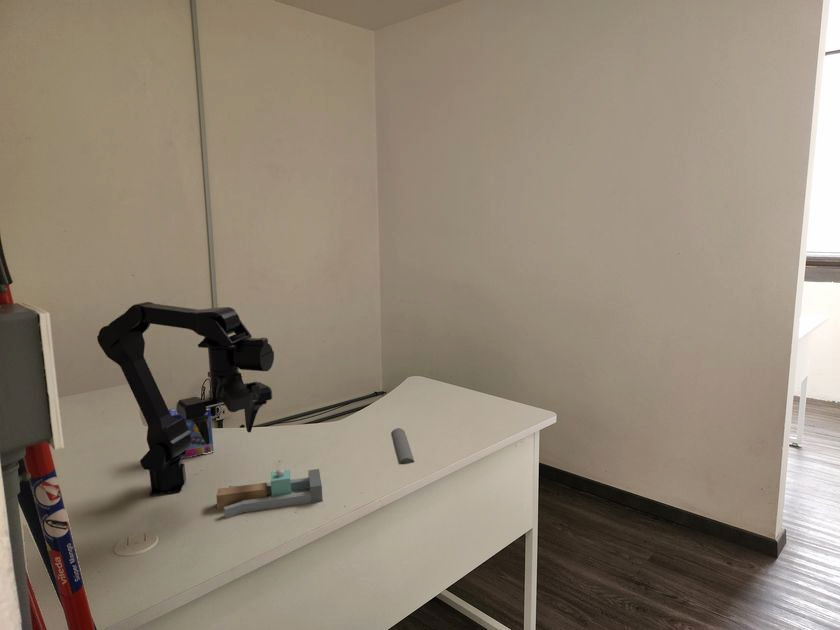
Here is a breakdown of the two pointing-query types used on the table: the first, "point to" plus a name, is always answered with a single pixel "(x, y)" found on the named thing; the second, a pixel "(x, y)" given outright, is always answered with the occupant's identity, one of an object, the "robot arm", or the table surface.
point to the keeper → (280, 482)
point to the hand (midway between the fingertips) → (228, 437)
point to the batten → (240, 494)
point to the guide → (282, 496)
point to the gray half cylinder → (401, 446)
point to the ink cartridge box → (196, 435)
